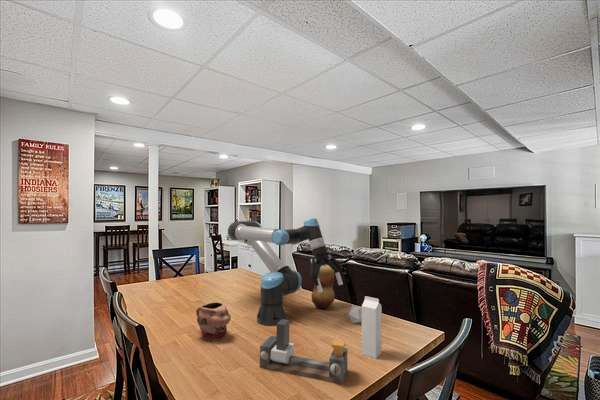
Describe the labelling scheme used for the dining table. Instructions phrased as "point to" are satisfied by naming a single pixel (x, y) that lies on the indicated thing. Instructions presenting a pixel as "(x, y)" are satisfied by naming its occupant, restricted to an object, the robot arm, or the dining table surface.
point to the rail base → (302, 371)
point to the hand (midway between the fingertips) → (331, 288)
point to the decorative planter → (213, 320)
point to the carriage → (282, 343)
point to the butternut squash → (324, 288)
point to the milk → (371, 327)
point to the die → (355, 314)
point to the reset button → (338, 347)
